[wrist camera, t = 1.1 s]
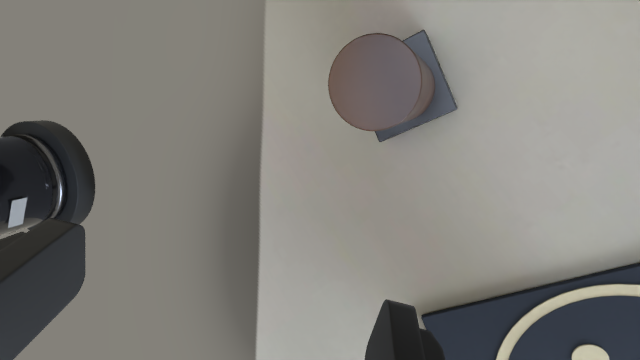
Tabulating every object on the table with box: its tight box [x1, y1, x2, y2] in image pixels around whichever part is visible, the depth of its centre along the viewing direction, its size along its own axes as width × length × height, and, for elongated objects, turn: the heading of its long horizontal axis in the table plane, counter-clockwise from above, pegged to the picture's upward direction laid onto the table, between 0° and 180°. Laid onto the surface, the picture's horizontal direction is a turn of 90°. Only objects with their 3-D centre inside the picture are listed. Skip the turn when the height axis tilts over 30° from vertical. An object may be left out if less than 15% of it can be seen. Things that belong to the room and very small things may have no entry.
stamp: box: [328, 30, 457, 142], centre depth 21 cm, size 5×5×10 cm
